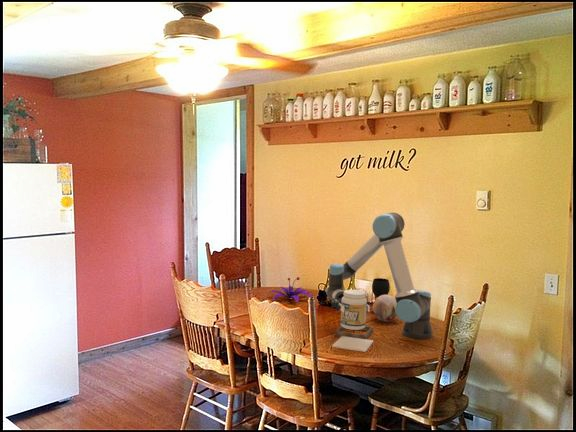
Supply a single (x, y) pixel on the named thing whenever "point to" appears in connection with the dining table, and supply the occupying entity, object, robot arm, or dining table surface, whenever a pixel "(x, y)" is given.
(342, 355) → the dining table surface
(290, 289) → the decorative flower
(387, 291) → the wine glass
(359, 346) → the off-white mat
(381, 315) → the ornament
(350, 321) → the supplement tub
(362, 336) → the walnut collar
